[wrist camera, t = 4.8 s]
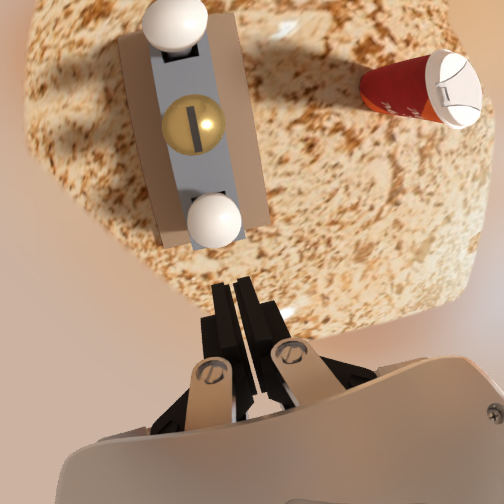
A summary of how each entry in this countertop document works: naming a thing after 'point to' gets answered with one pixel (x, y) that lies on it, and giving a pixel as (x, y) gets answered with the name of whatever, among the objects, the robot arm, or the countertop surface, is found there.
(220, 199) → the knob
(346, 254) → the countertop surface
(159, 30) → the knob
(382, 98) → the coffee cup
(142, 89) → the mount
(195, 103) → the pot knob
